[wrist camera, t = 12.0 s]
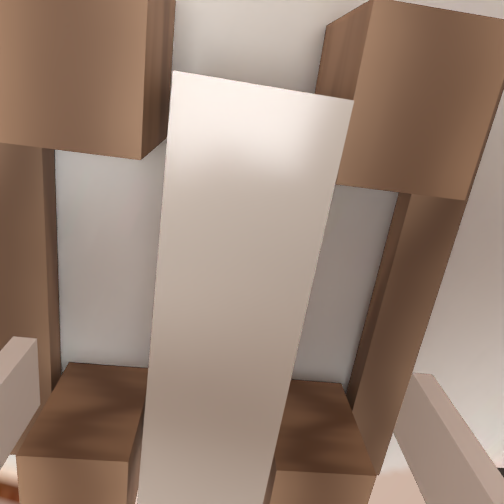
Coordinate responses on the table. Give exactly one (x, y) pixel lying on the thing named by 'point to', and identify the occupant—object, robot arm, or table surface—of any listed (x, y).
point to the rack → (349, 174)
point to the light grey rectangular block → (233, 281)
